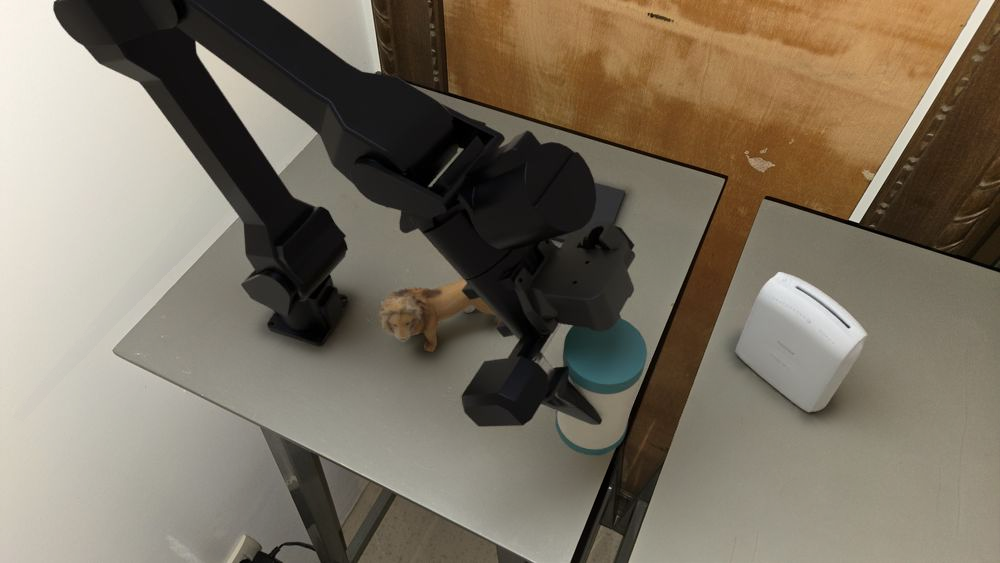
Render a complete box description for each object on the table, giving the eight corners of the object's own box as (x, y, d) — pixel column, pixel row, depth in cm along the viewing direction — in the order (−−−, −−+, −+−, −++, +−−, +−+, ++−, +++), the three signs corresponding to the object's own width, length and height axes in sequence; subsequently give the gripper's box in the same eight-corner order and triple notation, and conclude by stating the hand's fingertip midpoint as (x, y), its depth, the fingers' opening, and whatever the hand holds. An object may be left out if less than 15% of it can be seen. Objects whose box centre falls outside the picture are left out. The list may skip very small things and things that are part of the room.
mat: (519, 230, 88) (519, 227, 87) (546, 173, 93) (546, 170, 93) (602, 253, 85) (602, 250, 85) (625, 194, 91) (625, 190, 91)
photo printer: (726, 351, 77) (757, 277, 67) (753, 329, 79) (787, 253, 69) (809, 422, 72) (856, 352, 62) (836, 396, 74) (886, 325, 64)
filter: (546, 443, 65) (553, 370, 55) (566, 383, 68) (576, 305, 59) (617, 464, 63) (637, 394, 54) (633, 402, 67) (654, 326, 58)
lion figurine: (401, 380, 75) (390, 329, 68) (377, 342, 78) (365, 290, 71) (524, 315, 80) (526, 261, 73) (497, 282, 83) (496, 227, 76)
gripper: (496, 333, 44) (645, 496, 49) (625, 142, 54) (737, 295, 59) (398, 350, 52) (534, 488, 58) (525, 183, 62) (631, 313, 68)
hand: (613, 392), depth 60 cm, fingers closed on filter, 6 cm apart
